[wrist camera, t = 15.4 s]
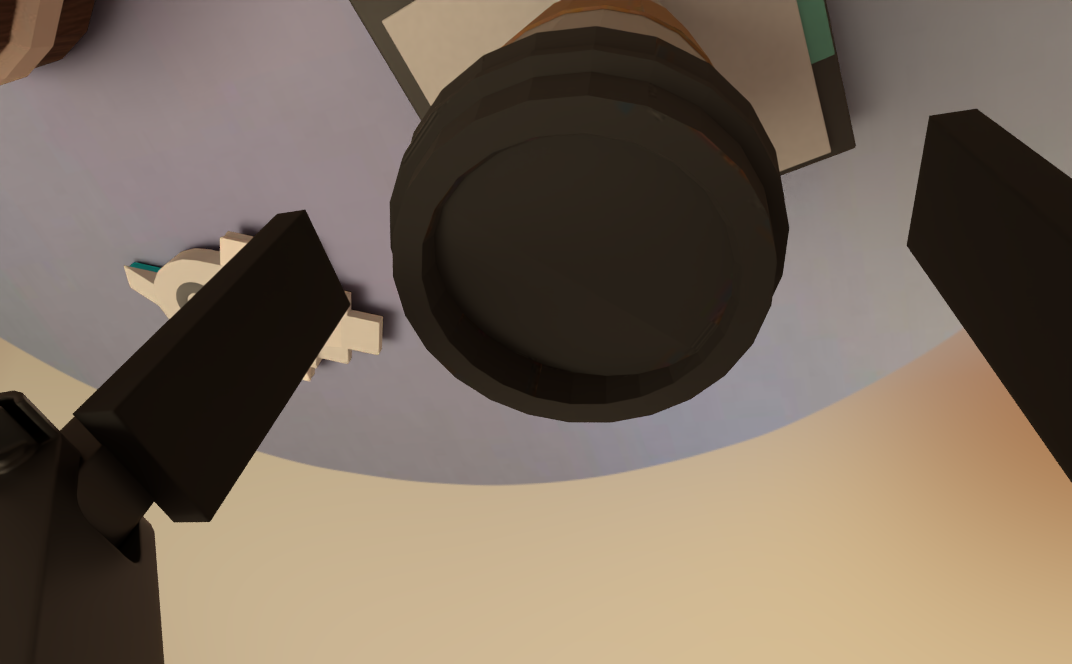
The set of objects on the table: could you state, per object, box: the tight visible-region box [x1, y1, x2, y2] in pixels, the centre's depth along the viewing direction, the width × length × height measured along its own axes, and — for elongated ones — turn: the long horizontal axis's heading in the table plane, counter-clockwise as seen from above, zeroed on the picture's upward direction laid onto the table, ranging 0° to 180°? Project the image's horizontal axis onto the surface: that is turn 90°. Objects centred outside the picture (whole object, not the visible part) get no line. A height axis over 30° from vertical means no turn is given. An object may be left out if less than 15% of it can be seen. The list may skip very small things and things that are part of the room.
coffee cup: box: [390, 0, 789, 422], centre depth 17 cm, size 8×8×15 cm
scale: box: [349, 0, 856, 176], centre depth 25 cm, size 16×14×4 cm
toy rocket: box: [124, 231, 383, 381], centre depth 36 cm, size 16×10×2 cm, turn 80°
